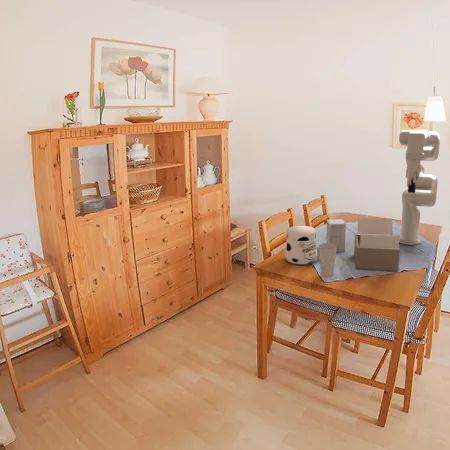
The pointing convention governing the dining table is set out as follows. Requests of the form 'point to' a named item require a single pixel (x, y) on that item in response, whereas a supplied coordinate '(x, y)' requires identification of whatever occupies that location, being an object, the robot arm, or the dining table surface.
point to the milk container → (301, 245)
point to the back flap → (374, 226)
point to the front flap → (379, 241)
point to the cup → (327, 259)
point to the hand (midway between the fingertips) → (411, 192)
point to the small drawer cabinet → (336, 233)
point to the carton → (375, 258)
